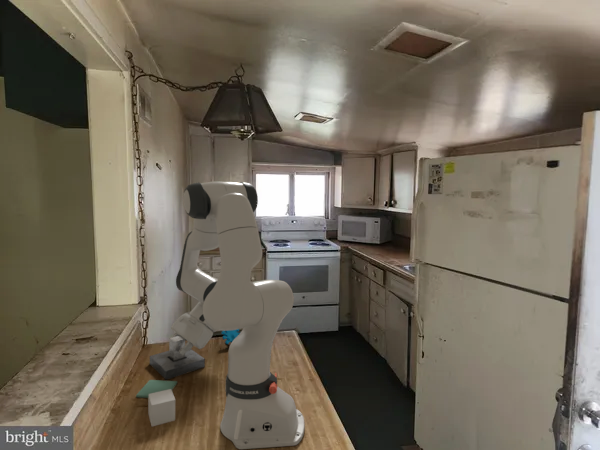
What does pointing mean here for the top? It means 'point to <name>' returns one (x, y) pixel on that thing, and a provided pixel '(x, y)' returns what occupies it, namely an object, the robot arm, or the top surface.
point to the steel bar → (176, 348)
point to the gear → (230, 335)
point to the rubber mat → (155, 387)
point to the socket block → (176, 364)
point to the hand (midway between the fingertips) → (175, 350)
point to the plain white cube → (161, 407)
